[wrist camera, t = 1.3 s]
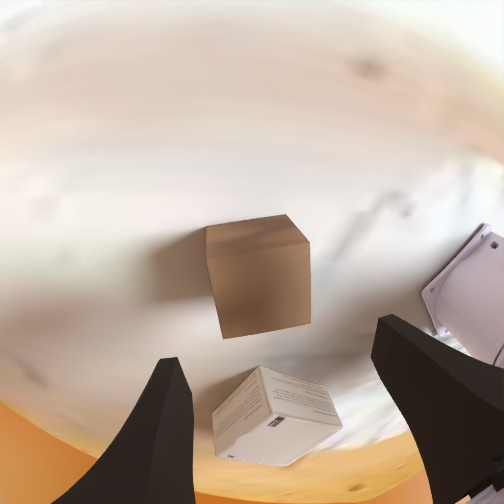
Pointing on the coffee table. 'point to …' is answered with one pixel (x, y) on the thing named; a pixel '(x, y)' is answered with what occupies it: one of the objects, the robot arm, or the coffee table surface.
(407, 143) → the coffee table surface
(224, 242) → the walnut block
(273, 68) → the coffee table surface
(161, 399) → the robot arm
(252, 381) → the small box
